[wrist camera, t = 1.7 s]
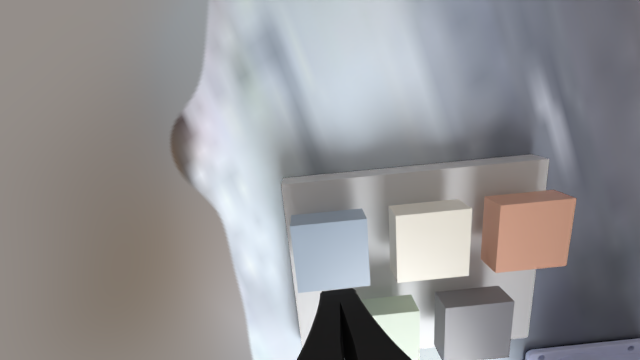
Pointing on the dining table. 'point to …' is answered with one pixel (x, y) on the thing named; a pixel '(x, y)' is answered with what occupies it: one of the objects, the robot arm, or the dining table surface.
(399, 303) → the sage key
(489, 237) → the terracotta key
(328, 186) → the light grey tray
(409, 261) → the cream key
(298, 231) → the slate blue key
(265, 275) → the dining table surface
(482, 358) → the grey key
